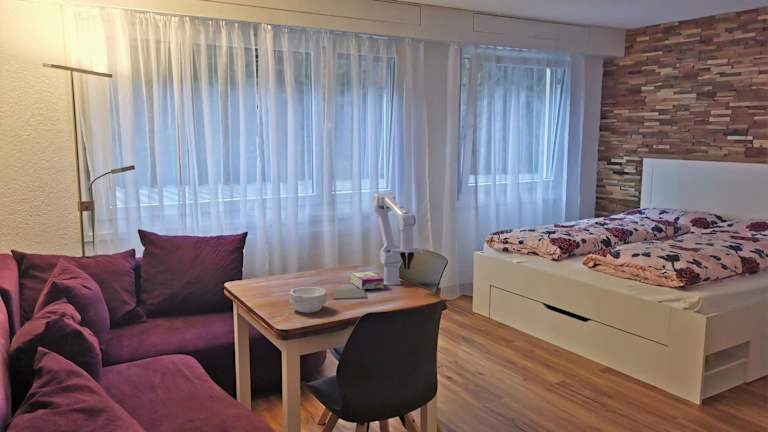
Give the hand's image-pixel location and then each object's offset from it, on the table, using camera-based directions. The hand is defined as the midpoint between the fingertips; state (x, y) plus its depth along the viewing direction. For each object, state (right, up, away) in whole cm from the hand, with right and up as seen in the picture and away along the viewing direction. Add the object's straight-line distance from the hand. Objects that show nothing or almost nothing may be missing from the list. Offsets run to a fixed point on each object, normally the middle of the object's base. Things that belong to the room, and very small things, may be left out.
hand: (406, 268), depth 273 cm
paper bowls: (-42, -15, -27) cm, 52 cm away
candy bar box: (-16, -8, +2) cm, 17 cm away
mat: (-26, -11, -5) cm, 29 cm away
